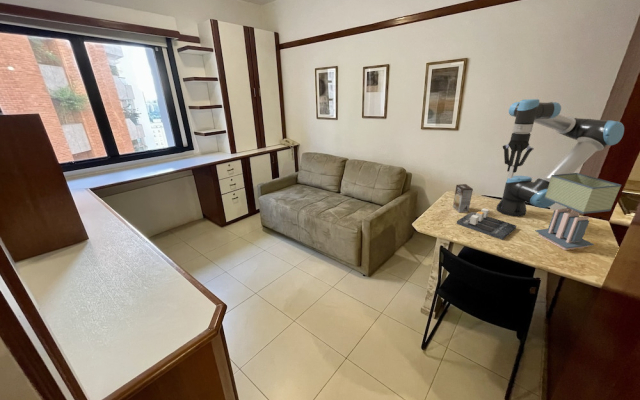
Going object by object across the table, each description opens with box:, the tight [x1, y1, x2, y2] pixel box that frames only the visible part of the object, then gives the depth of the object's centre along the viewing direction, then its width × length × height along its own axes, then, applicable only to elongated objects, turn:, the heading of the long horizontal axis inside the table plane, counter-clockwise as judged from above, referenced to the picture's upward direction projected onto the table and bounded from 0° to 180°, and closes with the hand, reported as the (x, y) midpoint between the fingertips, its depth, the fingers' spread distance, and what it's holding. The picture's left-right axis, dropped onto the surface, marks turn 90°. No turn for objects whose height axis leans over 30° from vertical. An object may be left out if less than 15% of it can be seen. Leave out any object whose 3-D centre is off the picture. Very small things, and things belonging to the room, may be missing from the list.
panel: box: [456, 211, 517, 241], centre depth 146 cm, size 18×24×2 cm
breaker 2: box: [480, 208, 490, 218], centre depth 151 cm, size 3×3×4 cm
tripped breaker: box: [475, 210, 484, 222], centre depth 147 cm, size 3×3×5 cm
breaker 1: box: [470, 215, 479, 225], centre depth 144 cm, size 3×3×4 cm
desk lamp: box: [534, 172, 622, 251], centre depth 123 cm, size 18×14×33 cm
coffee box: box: [452, 183, 474, 213], centre depth 164 cm, size 9×6×16 cm
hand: (510, 177), depth 136 cm, fingers closed
